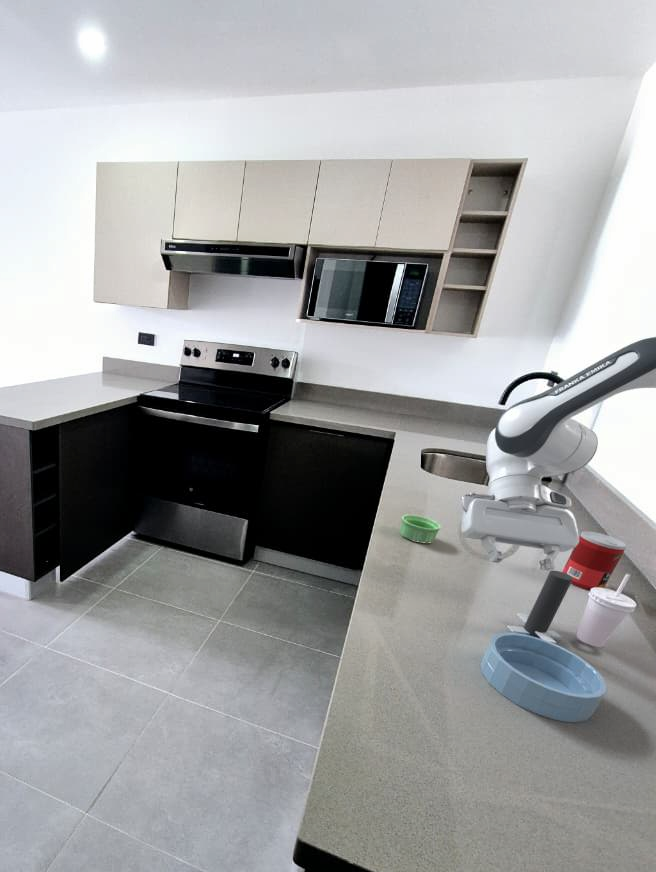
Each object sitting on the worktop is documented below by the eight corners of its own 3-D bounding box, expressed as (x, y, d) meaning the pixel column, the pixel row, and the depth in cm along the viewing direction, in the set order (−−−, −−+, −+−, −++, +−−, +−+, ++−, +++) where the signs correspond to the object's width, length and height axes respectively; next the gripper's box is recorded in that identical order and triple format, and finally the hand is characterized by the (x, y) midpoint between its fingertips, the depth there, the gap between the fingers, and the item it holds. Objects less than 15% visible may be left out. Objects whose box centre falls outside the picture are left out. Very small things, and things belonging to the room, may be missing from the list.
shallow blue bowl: (573, 677, 79) (587, 651, 77) (605, 740, 67) (623, 712, 65) (473, 647, 84) (484, 622, 82) (486, 701, 71) (499, 673, 69)
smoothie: (619, 654, 87) (660, 584, 81) (589, 654, 86) (628, 584, 80) (586, 631, 93) (622, 565, 87) (558, 631, 91) (592, 564, 86)
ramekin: (398, 527, 132) (403, 511, 130) (435, 536, 129) (440, 520, 127) (395, 538, 124) (401, 522, 122) (435, 548, 121) (441, 532, 119)
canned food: (605, 595, 108) (629, 550, 104) (561, 582, 112) (583, 538, 107) (600, 582, 114) (623, 539, 110) (559, 570, 118) (580, 527, 113)
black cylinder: (539, 628, 92) (569, 566, 87) (569, 657, 84) (605, 591, 79) (493, 622, 92) (521, 560, 87) (520, 651, 84) (552, 584, 79)
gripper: (470, 484, 96) (474, 551, 91) (580, 499, 95) (590, 568, 90) (453, 497, 102) (456, 562, 97) (556, 512, 101) (564, 578, 96)
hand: (521, 565), depth 93 cm, fingers open, 8 cm apart
